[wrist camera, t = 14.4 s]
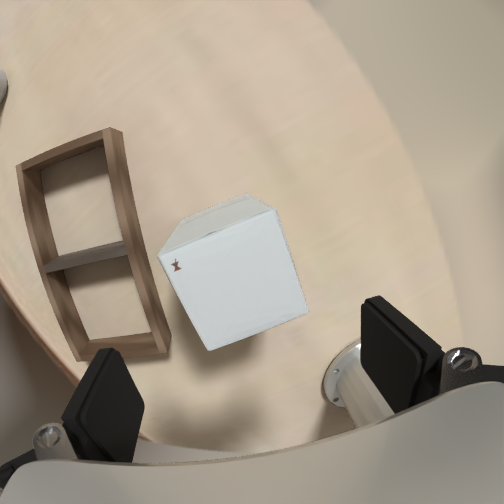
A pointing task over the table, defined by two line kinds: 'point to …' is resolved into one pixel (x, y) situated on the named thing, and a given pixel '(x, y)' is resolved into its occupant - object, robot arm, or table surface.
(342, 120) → the table surface
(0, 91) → the energy drink can
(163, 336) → the frame
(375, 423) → the robot arm
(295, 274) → the supplement box
